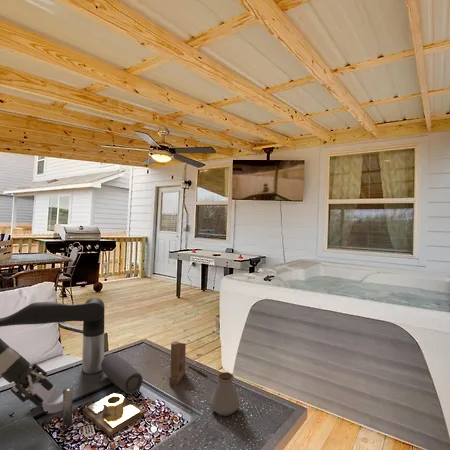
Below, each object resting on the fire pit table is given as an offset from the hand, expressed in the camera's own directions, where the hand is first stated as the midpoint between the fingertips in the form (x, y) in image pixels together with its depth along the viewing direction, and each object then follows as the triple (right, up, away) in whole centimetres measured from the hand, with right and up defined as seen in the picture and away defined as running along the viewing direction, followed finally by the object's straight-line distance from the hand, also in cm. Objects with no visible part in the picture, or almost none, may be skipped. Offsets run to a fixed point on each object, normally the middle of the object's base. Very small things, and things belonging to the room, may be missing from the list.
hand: (46, 395), depth 106 cm
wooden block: (+40, -11, +33) cm, 53 cm away
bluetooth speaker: (+16, -11, +27) cm, 34 cm away
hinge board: (+20, -11, +8) cm, 25 cm away
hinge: (+20, -10, +8) cm, 24 cm away
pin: (+6, -11, +3) cm, 13 cm away
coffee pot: (+57, -12, +14) cm, 60 cm away
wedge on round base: (-5, -11, +13) cm, 17 cm away
